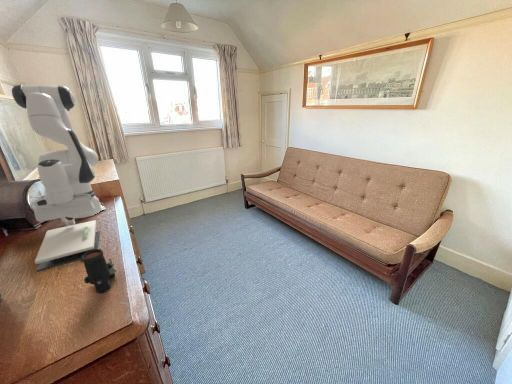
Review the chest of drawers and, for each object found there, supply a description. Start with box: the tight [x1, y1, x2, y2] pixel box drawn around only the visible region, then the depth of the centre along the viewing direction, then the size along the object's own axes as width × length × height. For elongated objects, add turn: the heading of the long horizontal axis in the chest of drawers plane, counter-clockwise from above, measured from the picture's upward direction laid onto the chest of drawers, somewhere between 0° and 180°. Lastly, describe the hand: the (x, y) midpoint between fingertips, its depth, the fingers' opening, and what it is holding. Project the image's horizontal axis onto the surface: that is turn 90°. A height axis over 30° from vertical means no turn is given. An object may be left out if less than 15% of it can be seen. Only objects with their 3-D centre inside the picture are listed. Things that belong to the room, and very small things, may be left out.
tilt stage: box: [34, 219, 97, 265], centre depth 93 cm, size 22×18×3 cm
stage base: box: [35, 230, 102, 273], centre depth 94 cm, size 23×19×4 cm
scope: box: [81, 248, 117, 294], centre depth 70 cm, size 8×14×10 cm
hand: (71, 224), depth 99 cm, fingers closed
